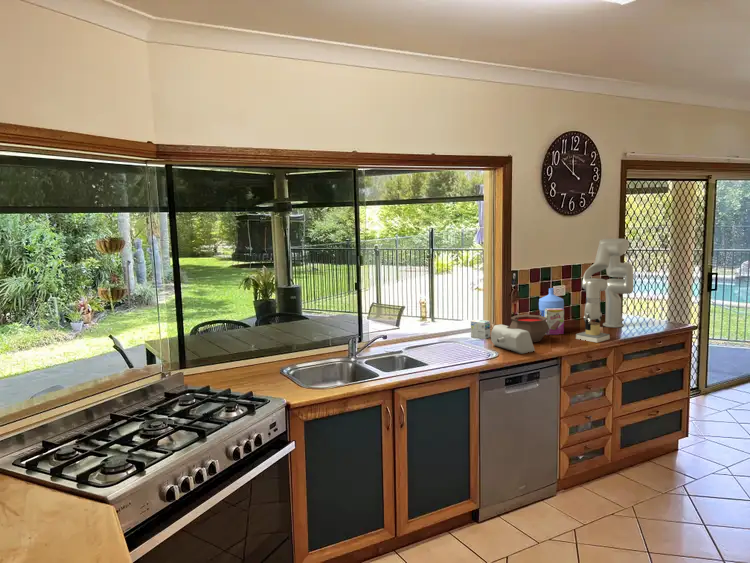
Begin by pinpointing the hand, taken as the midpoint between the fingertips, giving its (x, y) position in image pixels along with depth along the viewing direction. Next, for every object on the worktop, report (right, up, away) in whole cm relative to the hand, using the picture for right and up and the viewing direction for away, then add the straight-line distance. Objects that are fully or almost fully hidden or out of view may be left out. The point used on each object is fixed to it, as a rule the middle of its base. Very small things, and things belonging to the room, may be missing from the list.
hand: (592, 328), depth 320 cm
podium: (0, -6, +1) cm, 6 cm away
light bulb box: (-64, -7, +17) cm, 67 cm away
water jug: (-16, -4, +28) cm, 32 cm away
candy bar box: (-17, -5, +17) cm, 25 cm away
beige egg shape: (+8, -5, +9) cm, 13 cm away
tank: (-54, -11, -15) cm, 58 cm away
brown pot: (-37, -8, +5) cm, 38 cm away
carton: (0, -3, 0) cm, 3 cm away
